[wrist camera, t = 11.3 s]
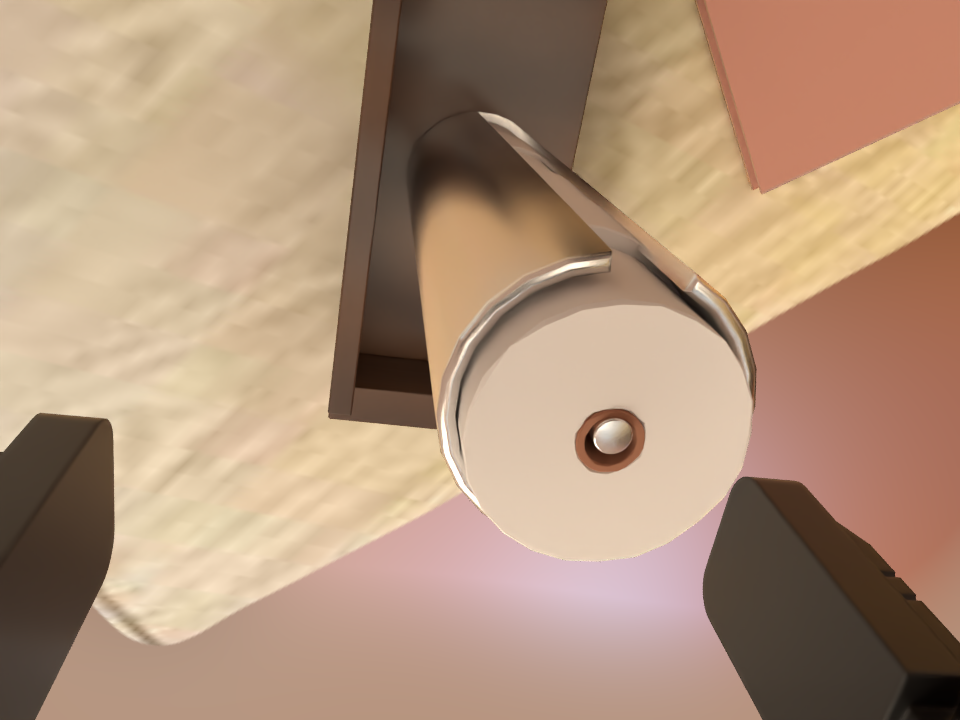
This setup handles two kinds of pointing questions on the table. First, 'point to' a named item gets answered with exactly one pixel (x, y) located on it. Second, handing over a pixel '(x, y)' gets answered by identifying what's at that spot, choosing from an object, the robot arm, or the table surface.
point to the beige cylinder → (569, 351)
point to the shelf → (390, 145)
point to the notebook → (828, 75)
